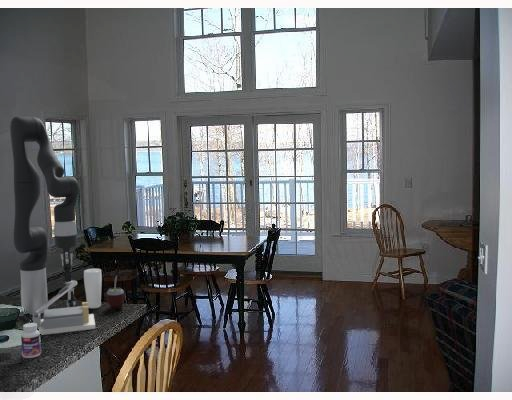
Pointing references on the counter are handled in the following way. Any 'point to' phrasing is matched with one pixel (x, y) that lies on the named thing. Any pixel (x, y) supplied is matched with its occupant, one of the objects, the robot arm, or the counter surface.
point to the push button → (70, 295)
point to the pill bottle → (30, 341)
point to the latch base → (65, 320)
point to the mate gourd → (115, 297)
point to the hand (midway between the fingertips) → (68, 281)
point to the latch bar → (55, 298)
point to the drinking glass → (93, 287)
